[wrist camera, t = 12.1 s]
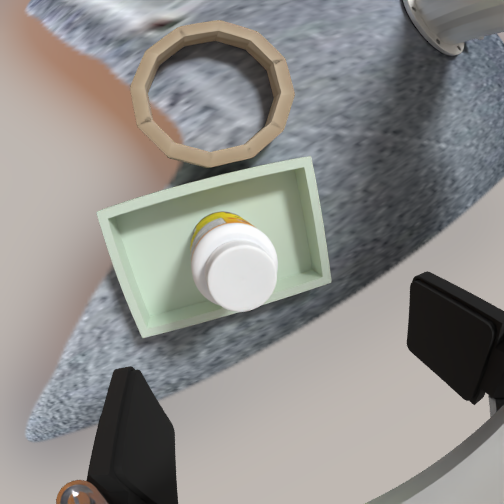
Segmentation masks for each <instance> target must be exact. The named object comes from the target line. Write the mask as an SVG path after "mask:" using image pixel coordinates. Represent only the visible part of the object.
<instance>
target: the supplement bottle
mask: <svg viewBox="0 0 504 504" xmlns="http://www.w3.org/2000/svg"><path fill="white" fill-rule="evenodd" d="M190 254H191V270H192V276H193V280H194V282H195V285H196V287H197V288H198V290H199V291H200V293H201V294H202V295H203V296H204V297H205V298H207V299H208V300H209V301H211V302H212V303H215V304H217V305H219V306H221V307H223V308H225V309H227V310H230V311H235V312H246V311H250V310H253V309H255V308H258V307H259V306H261V305H262V304H264V303H265V302H266V301H267V300H268V299H269V297H270V296H271V295H272V293H273V291H274V289H275V286H276V282H277V270H278V259H277V254H276V250H275V248H274V246H273V244H272V242H271V241H270V239H269V238H268V237H267V236H266V235H265V234H264V233H263V232H261V231H260V230H259V229H257V228H256V227H255V226H253V225H252V224H250V223H249V222H247V221H246V220H244V219H243V218H242V217H240V216H238V215H236V214H234V213H231V212H225V211H221V212H215V213H211V214H209V215H207V216H205V217H204V218H203V219H201V220H200V221H199V222H198V224H197V225H196V226H195V228H194V230H193V232H192V235H191V240H190Z"/></svg>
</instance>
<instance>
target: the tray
mask: <svg viewBox="0 0 504 504" xmlns="http://www.w3.org/2000/svg"><path fill="white" fill-rule="evenodd" d="M221 211H225V212H231V213H234V214H236V215H238V216H240V217H242V218H243V219H244V220H246V221H247V222H249V223H250V224H252V225H253V226H255V227H256V228H257V229H259V230H260V231H261V232H263V233H264V234H265V235H266V236H267V237H268V238H269V239H270V241H271V242H272V244H273V246H274V248H275V250H276V254H277V259H278V270H277V282H276V286H275V289H274V291H273V293H272V295H271V296H270V297H269V299H268V300H267V301H266V302H265V303H264V304H268V303H271V302H274V301H277V300H280V299H283V298H286V297H290V296H293V295H296V294H299V293H302V292H305V291H308V290H311V289H314V288H317V287H320V286H323V285H326V284H328V283H331V274H330V266H329V259H328V251H327V244H326V238H325V231H324V225H323V219H322V213H321V207H320V201H319V195H318V190H317V184H316V179H315V174H314V169H313V164H312V159H311V156H309V157H301V158H295V159H290V160H285V161H280V162H275V163H270V164H265V165H260V166H256V167H251V168H247V169H242V170H238V171H234V172H229V173H225V174H221V175H217V176H213V177H209V178H205V179H201V180H197V181H194V182H190V183H186V184H183V185H179V186H175V187H172V188H168V189H165V190H161V191H158V192H155V193H151V194H148V195H145V196H142V197H138V198H135V199H132V200H129V201H126V202H123V203H120V204H117V205H114V206H111V207H108V208H105V209H102V210H100V211H98V212H97V216H98V220H99V223H100V227H101V230H102V233H103V236H104V240H105V242H106V246H107V249H108V252H109V255H110V258H111V261H112V264H113V266H114V269H115V272H116V275H117V278H118V280H119V283H120V286H121V288H122V291H123V293H124V296H125V298H126V301H127V303H128V306H129V308H130V311H131V313H132V316H133V318H134V320H135V323H136V325H137V327H138V329H139V332H140V334H141V336H142V338H145V337H150V336H154V335H158V334H161V333H165V332H169V331H173V330H177V329H181V328H185V327H188V326H192V325H196V324H199V323H203V322H207V321H210V320H214V319H217V318H221V317H224V316H228V315H231V314H234V313H238V312H235V311H230V310H227V309H225V308H223V307H221V306H219V305H217V304H215V303H212V302H211V301H209V300H208V299H207V298H205V297H204V296H203V295H202V294H201V293H200V291H199V290H198V288H197V287H196V285H195V282H194V280H193V276H192V270H191V254H190V240H191V235H192V232H193V230H194V228H195V226H196V225H197V224H198V222H199V221H200V220H201V219H203V218H204V217H205V216H207V215H209V214H211V213H215V212H221ZM264 304H262V305H264Z"/></svg>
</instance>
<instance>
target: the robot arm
mask: <svg viewBox="0 0 504 504" xmlns="http://www.w3.org/2000/svg"><path fill="white" fill-rule="evenodd" d="M403 2H404V6H405V8H406V11H407V13H408V15H409V17H410V19H411V20H412V22H413V23H414V25H415V26H416V28H417V29H418V30H419V32H420V33H421V34H422V35H423V37H424V38H425V39H426V40H427V41H428V42H429V43H430V44H431V45H432V46H434V47H435V48H436V49H437V50H439V51H440V52H442V53H444V54H446V55H449V56H454V55H458V54H460V53H461V52H462V51H463V49H464V42H466V41H469V40H473V39H478V40H482V39H483V38H484V36H488V35H492V34H496V33H501V32H504V0H403ZM407 346H408V348H409V350H410V351H411V352H412V353H413V354H414V355H415V356H416V357H417V358H419V359H420V360H421V361H422V362H423V363H424V364H425V365H427V366H428V367H429V368H430V369H431V370H432V371H433V372H435V373H436V374H437V375H438V376H439V377H440V378H441V379H442V380H443V381H445V382H446V383H447V384H448V385H449V386H450V387H451V388H452V389H453V390H454V391H456V392H457V393H458V394H459V395H460V396H461V397H462V398H463V399H465V400H467V401H468V400H469V401H470V402H471V403H472V404H474V405H475V404H476V403H477V402H478V401H480V400H481V399H482V398H483V397H484V395H485V392H486V393H487V394H488V395H489V405H490V416H491V418H490V419H489V420H488V421H487V422H486V423H484V424H483V425H482V426H481V427H480V428H479V429H478V430H477V431H476V432H474V433H473V434H472V435H471V436H469V437H468V438H467V439H466V440H465V441H463V442H462V443H461V444H460V445H458V446H457V447H456V448H455V449H453V450H452V451H451V452H449V453H448V454H447V455H445V456H444V457H443V458H441V459H440V460H438V461H437V462H436V463H434V464H433V465H431V466H430V467H428V468H427V469H426V470H424V471H422V472H421V473H419V474H418V475H416V476H414V477H413V478H411V479H410V480H408V481H406V482H405V483H403V484H401V485H399V486H398V487H396V488H394V489H392V490H390V491H389V492H387V493H385V494H383V495H381V496H379V497H377V498H375V499H373V500H371V501H369V502H367V503H365V504H504V311H503V310H501V309H499V308H497V307H495V306H494V305H491V304H490V303H488V302H486V301H484V300H483V299H481V298H479V297H477V296H475V295H473V294H471V293H469V292H467V291H466V290H464V289H462V288H460V287H458V286H456V285H454V284H452V283H450V282H448V281H446V280H444V279H442V278H440V277H438V276H436V275H434V274H432V273H430V272H424V273H422V274H420V275H418V276H415V277H414V278H413V281H412V283H411V286H410V306H409V323H408V335H407ZM56 504H178V496H177V481H176V462H175V432H174V428H173V425H172V423H171V422H170V420H169V418H168V417H167V415H166V414H165V413H164V411H163V409H162V407H161V406H160V404H159V402H158V401H157V399H156V397H155V396H154V394H153V392H152V391H151V389H150V387H149V385H148V384H147V382H146V380H145V378H144V377H143V375H142V373H141V371H140V370H135V369H134V368H133V367H131V366H130V367H125V368H119V369H115V370H114V372H113V375H112V378H111V382H110V385H109V389H108V393H107V396H106V400H105V404H104V407H103V411H102V414H101V416H100V420H99V424H98V428H97V432H96V437H95V441H94V446H93V450H92V455H91V460H90V465H89V470H88V476H87V481H84V480H75V481H71V482H69V483H67V484H66V485H64V486H63V487H62V488H61V490H60V491H59V493H58V495H57V499H56Z"/></svg>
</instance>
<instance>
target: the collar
mask: <svg viewBox="0 0 504 504" xmlns="http://www.w3.org/2000/svg"><path fill="white" fill-rule="evenodd" d="M212 41H218V42H221V43H225V44H228V45H232V46H235V47H238V48H242V49H245V50H246V51H247V52H248V53H249V54H250V55H251V56H253V57H254V58H255V59H256V60H257V61H258V62H259V63H260V64H261V65H262V66H263V67H264V68H265V69H266V70H267V74H268V78H269V81H270V85H271V89H272V93H273V97H274V99H273V102H272V106H271V109H270V112H269V115H268V118H267V121H266V124H265V127H263V128H262V129H261V130H260V131H259V132H258V133H256V134H255V135H254V136H253V137H252V138H251V139H250V140H248V141H247V142H246V143H245V144H244V145H241V146H236V147H231V148H227V149H222V150H218V151H214V152H208V151H204V150H200V149H197V148H193V147H189V146H185V145H182V144H178V143H175V142H174V141H173V140H172V139H171V138H170V137H169V136H168V135H167V134H166V133H165V132H164V131H163V130H162V129H161V128H160V127H158V125H157V124H156V123H155V122H154V121H153V117H152V113H151V108H150V103H149V97H148V92H149V89H150V87H151V84H152V82H153V79H154V77H155V74H156V72H157V70H158V67H159V65H161V64H162V63H163V62H164V61H166V60H167V59H168V58H170V57H171V56H172V55H173V54H175V53H176V52H177V51H179V50H180V49H181V48H183V47H184V46H189V45H194V44H200V43H206V42H212ZM130 91H131V96H132V102H133V107H134V113H135V117H136V123H137V126H138V128H139V129H140V130H141V131H142V132H143V133H144V134H145V135H146V136H148V138H149V139H150V140H151V141H152V142H153V143H154V144H155V145H156V146H157V147H158V148H159V149H160V150H161V151H162V152H163V153H164V154H165V155H166V156H167V157H168V158H170V159H174V160H178V161H182V162H186V163H190V164H193V165H197V166H201V167H204V168H212V167H216V166H220V165H224V164H229V163H233V162H237V161H242V160H246V159H250V158H253V157H254V156H255V155H256V154H258V153H259V152H260V151H261V150H262V149H263V148H264V147H265V146H266V145H268V144H269V143H270V142H271V141H272V140H273V139H274V138H276V137H277V136H278V135H279V134H280V133H281V132H282V131H283V130H284V128H285V125H286V121H287V118H288V115H289V112H290V109H291V105H292V102H293V99H294V96H295V95H294V94H295V93H294V89H293V85H292V81H291V77H290V74H289V70H288V66H287V63H286V59H285V58H284V57H283V56H282V55H281V54H280V53H279V52H278V51H277V50H276V49H275V48H274V47H273V46H272V45H271V44H270V43H269V42H268V41H267V40H266V39H265V38H264V37H263V36H262V35H261V34H260V33H259V32H258V33H257V31H254V30H251V29H248V28H245V27H242V26H238V25H235V24H231V23H228V22H224V21H221V20H220V21H219V20H217V21H210V22H203V23H197V24H191V25H186V26H180V27H178V28H176V29H175V30H173V31H172V32H170V33H169V34H168V35H166V36H165V37H164V38H162V39H161V40H159V41H158V42H157V43H155V44H154V45H153V46H152V47H150V48H149V49H148V50H146V52H145V54H144V56H143V58H142V60H141V62H140V65H139V67H138V69H137V72H136V74H135V76H134V79H133V81H132V84H131V86H130Z"/></svg>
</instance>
